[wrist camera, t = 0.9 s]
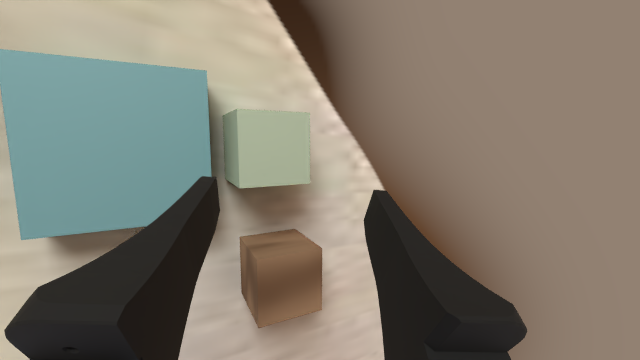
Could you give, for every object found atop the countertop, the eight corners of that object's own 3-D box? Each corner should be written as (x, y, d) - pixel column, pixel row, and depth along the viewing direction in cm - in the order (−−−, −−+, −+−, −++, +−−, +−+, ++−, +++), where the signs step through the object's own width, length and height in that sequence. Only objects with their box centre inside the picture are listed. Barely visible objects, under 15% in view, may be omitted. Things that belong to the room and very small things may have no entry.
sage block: (283, 175, 26) (309, 183, 21) (225, 178, 24) (239, 188, 19) (282, 118, 25) (309, 112, 20) (222, 115, 23) (236, 108, 18)
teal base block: (207, 208, 24) (213, 218, 21) (44, 224, 19) (21, 239, 16) (201, 80, 22) (206, 70, 19) (25, 64, 18) (-5, 48, 15)
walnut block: (294, 280, 28) (321, 309, 23) (241, 292, 25) (258, 328, 21) (294, 228, 27) (322, 248, 22) (239, 236, 25) (256, 260, 20)
